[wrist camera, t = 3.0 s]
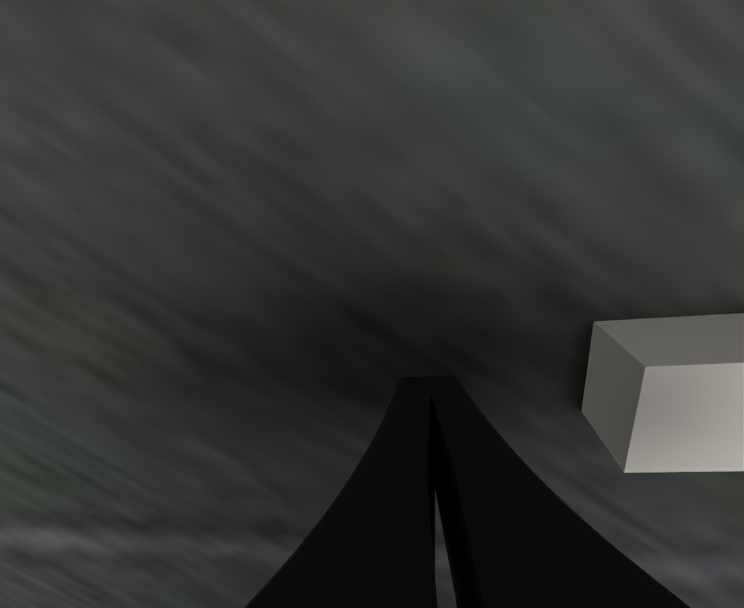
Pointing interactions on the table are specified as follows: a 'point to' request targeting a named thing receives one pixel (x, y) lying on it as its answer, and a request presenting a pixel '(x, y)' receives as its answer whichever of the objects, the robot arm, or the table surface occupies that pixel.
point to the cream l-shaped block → (669, 392)
